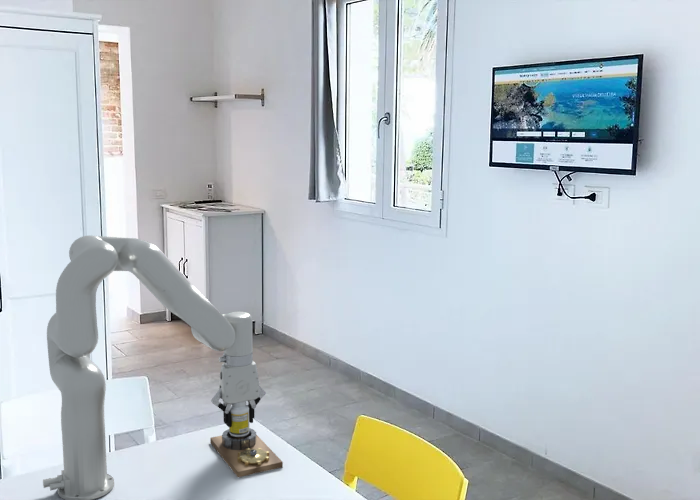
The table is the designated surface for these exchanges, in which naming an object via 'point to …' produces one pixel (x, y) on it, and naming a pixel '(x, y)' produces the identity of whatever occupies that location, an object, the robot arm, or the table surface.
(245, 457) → the brass gear
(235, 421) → the supplement bottle
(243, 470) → the gear board
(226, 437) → the socket ring
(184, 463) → the table surface
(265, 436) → the table surface
